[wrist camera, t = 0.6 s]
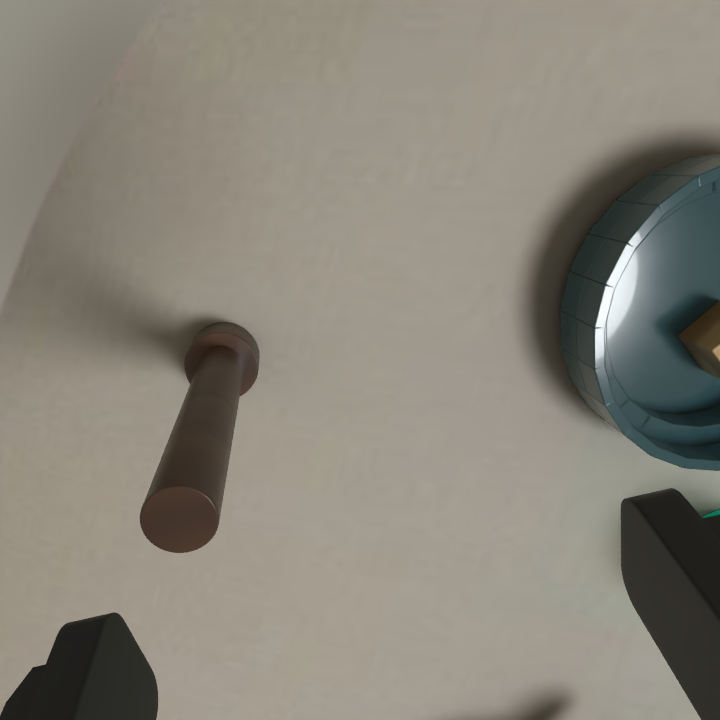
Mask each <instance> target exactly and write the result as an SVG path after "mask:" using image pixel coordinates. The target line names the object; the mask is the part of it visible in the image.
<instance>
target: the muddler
mask: <svg viewBox="0 0 720 720" xmlns="http://www.w3.org/2000/svg"><path fill="white" fill-rule="evenodd" d="M258 367H259V349H258V346H257V343H256V341H255V339H254V338H253V337H252V335H251V334H250V333H249V332H248V331H246V330H245V329H244V328H242V327H240V326H238V325H235V324H232V323H216V324H212V325H209V326H207V327H205V328H204V329H202V330H201V331H200V332H199V333H198V334H197V335H196V336H195V338H194V340H193V341H192V344H191V346H190V348H189V350H188V352H187V354H186V358H185V373H186V376H187V379H188V381H189V383H190V387H189V389H188V392H187V394H186V397H185V399H184V402H183V405H182V407H181V410H180V412H179V415H178V417H177V420H176V422H175V425H174V427H173V430H172V433H171V435H170V438H169V440H168V443H167V445H166V448H165V450H164V453H163V455H162V458H161V461H160V463H159V466H158V468H157V471H156V473H155V476H154V478H153V481H152V483H151V486H150V488H149V491H148V494H147V496H146V499H145V501H144V504H143V506H142V509H141V513H140V524H141V528H142V531H143V532H144V534H145V536H146V537H147V539H148V540H149V541H150V542H151V543H153V544H154V545H155V546H157V547H158V548H160V549H163V550H165V551H169V552H175V553H184V552H190V551H194V550H197V549H199V548H201V547H202V546H204V545H205V544H207V543H208V542H209V541H210V540H211V539H212V538H213V536H214V535H215V533H216V531H217V528H218V525H219V519H220V513H221V507H222V500H223V494H224V488H225V482H226V476H227V470H228V464H229V458H230V452H231V446H232V439H233V433H234V427H235V421H236V415H237V409H238V403H239V397H240V396H241V395H243V394H244V393H246V392H247V391H248V390H249V389H250V388H251V387H252V385H253V384H254V382H255V380H256V378H257V374H258Z"/></svg>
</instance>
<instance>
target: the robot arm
mask: <svg viewBox="0 0 720 720" xmlns="http://www.w3.org/2000/svg"><path fill="white" fill-rule="evenodd" d="M621 569H622V575H623V580H624V584H625V587H626V590H627V593H628V595H629V598H630V600H631V602H632V604H633V606H634V608H635V610H636V611H637V613H638V615H639V616H640V618H641V620H642V621H643V623H644V625H645V626H646V628H647V630H648V631H649V633H650V635H651V636H652V638H653V640H654V641H655V643H656V645H657V646H658V648H659V650H660V651H661V653H662V655H663V656H664V658H665V660H666V661H667V663H668V665H669V666H670V668H671V670H672V671H673V673H674V675H675V676H676V678H677V680H678V681H679V683H680V685H681V686H682V688H683V690H684V691H685V693H686V695H687V696H688V698H689V700H690V701H691V703H692V705H693V706H694V708H695V710H696V711H697V713H698V715H699V716H700V718H701V720H720V515H715V516H711V517H706V518H702V517H701V516H700V515H699V514H698V513H697V511H696V510H695V509H694V508H693V507H692V506H691V504H690V503H689V502H688V501H687V500H686V499H685V497H684V496H683V495H682V494H681V493H680V492H679V491H677V490H675V489H673V488H670V489H666V490H661V491H657V492H652V493H648V494H644V495H639V496H635V497H630V498H626V499H624V500H623V501H622V503H621ZM157 711H158V690H157V683H156V679H155V676H154V673H153V671H152V669H151V667H150V665H149V663H148V662H147V660H146V658H145V656H144V655H143V653H142V651H141V649H140V648H139V646H138V644H137V642H136V641H135V639H134V637H133V635H132V633H131V632H130V630H129V628H128V626H127V625H126V623H125V621H124V620H123V618H122V617H121V616H120V615H119V614H118V613H110V614H105V615H101V616H96V617H92V618H88V619H83V620H79V621H74V622H70V623H67V624H65V625H64V626H63V627H62V628H61V629H60V631H59V633H58V635H57V637H56V640H55V642H54V645H53V647H52V650H51V652H50V655H49V658H48V660H47V663H46V665H42V666H37V667H33V668H32V670H31V671H30V672H29V673H28V675H27V676H26V677H25V679H24V680H23V681H22V683H21V684H20V685H19V686H18V688H17V689H16V690H15V692H14V693H13V694H12V696H11V697H10V698H9V699H8V701H7V702H6V704H5V706H4V708H3V711H2V713H1V715H0V720H156V717H157Z"/></svg>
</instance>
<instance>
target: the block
mask: <svg viewBox="0 0 720 720" xmlns="http://www.w3.org/2000/svg"><path fill="white" fill-rule="evenodd" d="M678 337H679V339H680V340H681V341H682V343H683V344H684V345H685V347H686V348H687V349H688V351H689V352H690V353H691V355H692V356H693V358H694V359H695V360H696V362H697V363H698V364H699V366H700V367H701V368H702V370H703V371H705V372H707V373H709V374H711V375H713V376H715V377H717V378H719V379H720V301H718V302H717V303H716V304H715V305H713V306H712V307H711V308H710V309H709V310H707V311H706V312H705V313H704V314H703V315H702V316H700V317H699V318H698V319H697V320H696V321H694V322H693V323H692V324H691V325H690V326H689V327H687V328H686V329H685V330H684V331H683V332H681V333H680V334H679V335H678Z"/></svg>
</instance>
